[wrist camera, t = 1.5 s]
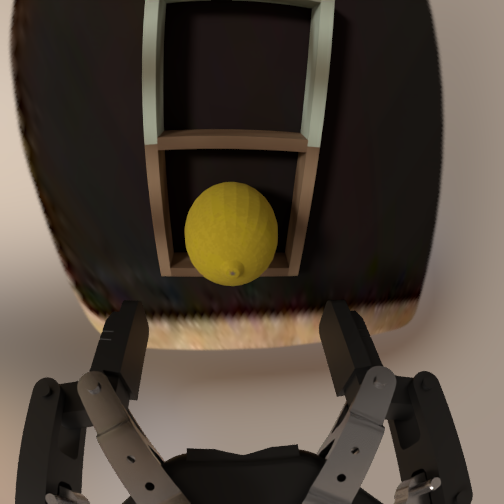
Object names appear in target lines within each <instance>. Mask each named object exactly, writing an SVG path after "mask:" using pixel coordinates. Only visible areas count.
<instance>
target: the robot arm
mask: <svg viewBox="0 0 504 504" xmlns="http://www.w3.org/2000/svg"><path fill="white" fill-rule="evenodd" d="M319 334H320V338H321V342H322V345H323V349H324V352H325V355H326V359H327V363H328V366H329V370H330V373H331V377H332V380H333V384H334V388H335V392H336V395H337V397H338V396H343V395H345V397H346V403H345V404H344V406H343V409H342V410H341V412H340V414H339V417H338V418H337V420H336V422H335V424H334V426H333V428H332V430H331V432H330V434H329V435H328V437H327V438H326V440H325V441H324V443H323V444H322V446H321V447H320V449H319V451H318V452H317V454H314V453H311V452H309V451H304V450H299V449H298V444H297V445H288V446H279V447H270V448H267V449H264V450H260V451H257V452H254V453H250V454H247V455H238V454H234V453H228V452H224V451H220V450H215V449H190V448H187V453H186V454H182V455H178V456H175V457H173V458H171V459H169V460H167V461H164V460H163V458H162V457H161V456H160V454H159V453H158V452H157V450H156V449H155V448H154V446H153V445H152V444H151V442H150V441H149V440H148V438H147V437H146V435H145V434H144V432H143V431H142V429H141V428H140V426H139V425H138V423H137V422H136V420H135V418H134V417H133V415H132V414H131V412H130V410H129V409H128V405H129V399H130V400H137V399H138V392H139V386H140V380H141V374H142V367H143V363H144V356H145V352H146V347H147V342H148V337H149V326H148V322H147V319H146V315H145V312H144V308H143V305H142V302H141V301H128V300H124V301H123V303H122V306H121V309H120V312H113V313H112V314H111V315H110V316H109V317H108V318H107V320H106V322H105V325H104V328H103V332H102V333H101V337H100V340H99V343H98V346H97V349H96V353H95V356H94V359H93V362H92V366H91V369H90V371H89V372H87V373H85V374H84V375H83V376H82V377H81V378H80V379H79V381H76V382H72V383H64V384H58V383H57V382H56V380H54V379H52V378H43V379H41V380H39V381H38V382H37V383H36V384H35V386H34V388H33V392H32V396H31V399H30V403H29V408H28V412H27V417H26V421H25V426H24V431H23V436H22V442H21V448H20V455H19V462H18V470H17V481H16V495H15V504H90V502H89V501H88V499H87V498H86V497H85V496H83V495H82V494H81V488H82V468H83V456H84V445H85V436H86V428H87V427H91V426H94V428H95V430H96V432H97V436H96V437H97V441H98V443H99V445H100V446H101V448H102V450H103V452H104V454H105V456H106V457H107V459H108V461H109V463H110V464H111V466H112V468H113V469H114V471H115V472H116V474H117V476H118V477H119V479H120V480H121V482H122V483H123V485H124V486H125V488H126V489H127V490H128V492H129V494H130V495H131V496H130V497H129V498H128V499H126V500H125V501H124V502H123V503H122V504H383V503H381V502H380V501H378V500H377V499H376V498H374V497H373V496H372V495H370V494H369V493H367V492H366V491H364V490H363V489H362V488H361V487H360V486H361V484H362V482H363V480H364V478H365V476H366V474H367V472H368V469H369V467H370V465H371V463H372V461H373V459H374V456H375V454H376V451H377V449H378V447H379V444H380V442H381V439H382V437H383V434H384V431H385V427H384V426H383V422H384V419H387V420H388V423H389V427H390V431H391V435H392V439H393V443H394V448H395V452H396V457H397V461H398V465H399V471H400V476H401V481H402V483H401V484H400V485H399V486H398V487H397V489H396V492H395V496H394V498H395V503H394V504H471V501H472V497H473V493H472V488H471V483H470V479H469V474H468V471H467V466H466V462H465V458H464V455H463V452H462V448H461V444H460V441H459V438H458V435H457V431H456V429H455V425H454V422H453V419H452V416H451V413H450V410H449V407H448V404H447V402H446V399H445V396H444V394H443V391H442V388H441V386H440V383H439V381H438V379H437V378H436V376H435V375H433V374H432V373H430V372H427V371H422V372H419V373H418V374H417V375H416V376H415V377H414V378H410V377H401V376H396V375H394V373H393V372H392V371H391V370H390V369H388V368H386V367H384V366H383V365H382V363H381V361H380V358H379V356H378V353H377V351H376V348H375V346H374V343H373V341H372V339H371V337H370V334H369V332H368V330H367V327H366V325H365V322H364V320H363V318H362V317H361V316H360V315H359V314H358V313H357V312H356V311H350V310H349V308H348V305H347V303H346V301H345V300H329V301H327V302H326V305H325V308H324V312H323V315H322V318H321V321H320V324H319Z"/></svg>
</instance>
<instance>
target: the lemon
mask: <svg viewBox="0 0 504 504" xmlns="http://www.w3.org/2000/svg"><path fill="white" fill-rule="evenodd" d="M277 243H278V225H277V221H276V218H275V215H274V212H273V209H272V207H271V206H270V204H269V203H268V201H267V200H266V198H265V197H264V196H263V195H262V194H261V193H259V192H258V191H257V190H256V189H255V188H252V187H250V186H248V185H246V184H242V183H237V182H224V183H220V184H217V185H214V186H212V187H210V188H208V189H207V190H205V191H204V192H203V193H202V194H201V195H200V196H199V197H198V198H197V199H196V200H195V201H194V203H193V205H192V207H191V208H190V210H189V212H188V215H187V220H186V224H185V244H186V249H187V252H188V255H189V257H190V260H191V262H192V264H193V265H194V267H195V268H196V269H197V270H198V272H199V273H200V274H202V275H203V276H204V277H205V278H207V279H208V280H210V281H212V282H214V283H217V284H221V285H226V286H236V285H242V284H245V283H248V282H251V281H253V280H254V279H256V278H258V277H259V276H260V275H261V274H262V273H263V272H264V271H265V270H266V269H267V268H268V266H269V265H270V263H271V262H272V260H273V257H274V254H275V251H276V247H277Z"/></svg>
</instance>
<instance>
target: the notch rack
mask: <svg viewBox="0 0 504 504" xmlns="http://www.w3.org/2000/svg"><path fill="white" fill-rule="evenodd" d="M188 1H209V0H145V11H144V27H143V53H142V96H143V124H144V141H145V155H146V167H147V177H148V187H149V196H150V204H151V212H152V220H153V227H154V234H155V241H156V247H157V253H158V259H159V265H160V271H161V276H203V275H202V274H200V273H199V272H198V270H197V269H196V268H195V267H194V265H193V264H192V262H191V260H190V257H189V255H188V253H185V252H174V249H173V241H172V232H171V223H170V213H169V202H168V190H167V177H166V162H165V150H174V149H258V150H279V151H295V152H298V160H297V168H296V176H295V184H294V191H293V199H292V206H291V214H290V221H289V228H288V235H287V242H286V248H285V253H275V254H274V257H273V260H272V262H271V263H270V265H269V266H268V268H267V269H266V270H265V271H264V272H263V273H262V274H261V275H260V276H298V272H299V267H300V262H301V257H302V252H303V246H304V241H305V236H306V230H307V225H308V219H309V213H310V207H311V202H312V196H313V189H314V183H315V177H316V170H317V164H318V157H319V150H320V143H321V136H322V128H323V120H324V113H325V104H326V96H327V87H328V77H329V67H330V57H331V45H332V33H333V19H334V2H335V0H234V1H256V2H268V3H278V4H286V5H294V6H300V7H307V8H312V13H311V27H310V41H309V53H308V65H307V76H306V86H305V97H304V106H303V116H302V125H301V133H294V132H281V131H264V130H236V129H197V130H169V131H164V115H163V57H164V31H165V14H166V3H175V2H188Z"/></svg>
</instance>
